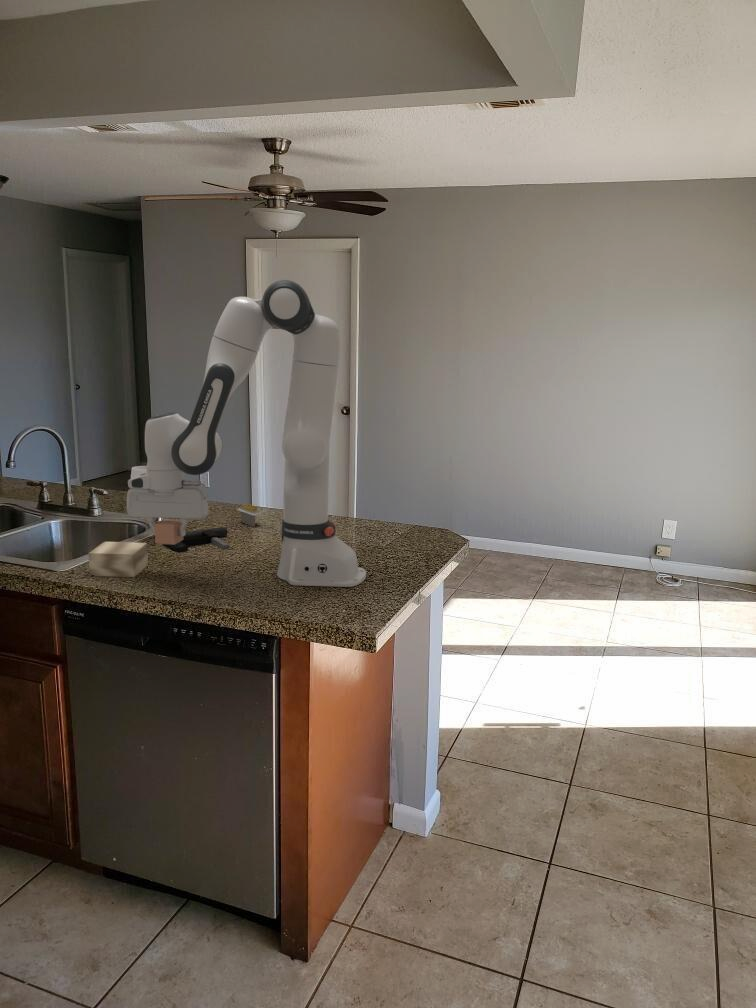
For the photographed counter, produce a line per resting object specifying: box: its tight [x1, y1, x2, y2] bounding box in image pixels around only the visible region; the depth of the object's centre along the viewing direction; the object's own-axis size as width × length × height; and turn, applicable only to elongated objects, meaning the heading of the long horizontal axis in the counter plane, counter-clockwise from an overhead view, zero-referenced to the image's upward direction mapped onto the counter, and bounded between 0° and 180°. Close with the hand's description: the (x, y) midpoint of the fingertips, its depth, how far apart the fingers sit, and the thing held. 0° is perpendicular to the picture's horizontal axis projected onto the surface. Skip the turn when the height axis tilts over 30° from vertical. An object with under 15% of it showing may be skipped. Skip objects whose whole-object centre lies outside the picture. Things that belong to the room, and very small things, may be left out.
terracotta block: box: [154, 518, 184, 545], centre depth 193 cm, size 5×5×5 cm
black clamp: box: [163, 526, 230, 553], centre depth 224 cm, size 3×20×16 cm
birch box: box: [88, 541, 149, 578], centre depth 197 cm, size 11×11×6 cm
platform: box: [237, 502, 262, 528], centre depth 249 cm, size 12×18×7 cm, turn 40°
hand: (169, 535), depth 193 cm, fingers closed on terracotta block, 5 cm apart
